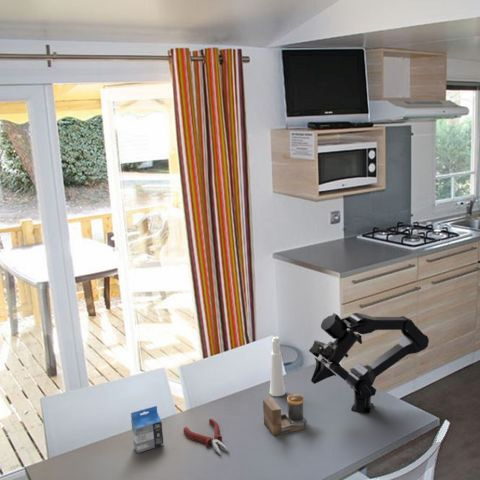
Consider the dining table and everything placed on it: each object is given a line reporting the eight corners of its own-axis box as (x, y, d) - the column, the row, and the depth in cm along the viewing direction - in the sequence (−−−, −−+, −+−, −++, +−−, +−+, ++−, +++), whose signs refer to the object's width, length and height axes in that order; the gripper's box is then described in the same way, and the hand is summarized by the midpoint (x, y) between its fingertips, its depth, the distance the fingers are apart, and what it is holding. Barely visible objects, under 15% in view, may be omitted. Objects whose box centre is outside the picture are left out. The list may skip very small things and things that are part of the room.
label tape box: (137, 453, 182) (134, 418, 179) (133, 447, 185) (130, 412, 182) (164, 445, 185) (161, 410, 183) (159, 439, 189) (156, 405, 186)
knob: (299, 414, 198) (298, 392, 196) (307, 422, 193) (306, 400, 191) (284, 417, 196) (284, 395, 195) (292, 426, 191) (291, 403, 189)
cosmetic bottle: (266, 392, 217) (264, 337, 213) (278, 387, 221) (276, 333, 216) (276, 398, 213) (274, 341, 208) (288, 393, 216) (287, 337, 211)
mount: (295, 416, 199) (294, 392, 197) (305, 428, 192) (304, 403, 190) (263, 424, 195) (263, 399, 193) (273, 436, 188) (272, 410, 186)
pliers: (208, 463, 176) (208, 455, 175) (182, 433, 193) (181, 426, 192) (241, 451, 181) (241, 444, 180) (212, 423, 198) (212, 416, 198)
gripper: (313, 323, 201) (285, 359, 199) (340, 342, 183) (309, 381, 182) (333, 341, 205) (306, 376, 204) (361, 361, 188) (331, 399, 186)
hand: (312, 382), depth 194 cm, fingers closed
